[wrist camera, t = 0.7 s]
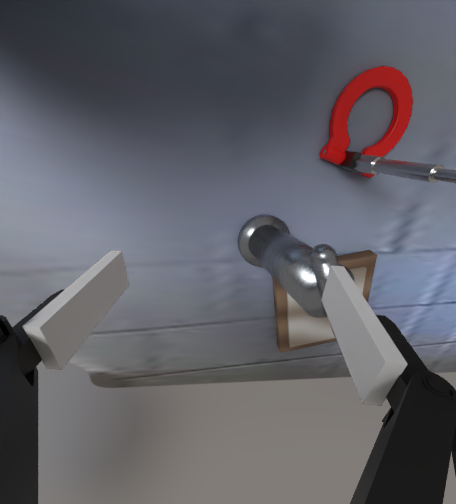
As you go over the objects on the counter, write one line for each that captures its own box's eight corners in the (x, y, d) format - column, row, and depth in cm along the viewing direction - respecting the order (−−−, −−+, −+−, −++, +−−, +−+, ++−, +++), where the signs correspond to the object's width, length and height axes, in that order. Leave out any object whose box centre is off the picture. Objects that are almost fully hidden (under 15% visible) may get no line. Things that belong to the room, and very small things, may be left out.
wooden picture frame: (271, 269, 31) (276, 278, 30) (369, 249, 32) (379, 257, 30) (277, 345, 39) (281, 355, 37) (355, 328, 40) (362, 337, 38)
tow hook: (355, 52, 21) (309, 155, 25) (550, -50, 10) (412, 169, 13) (419, 91, 23) (369, 180, 27) (639, 44, 12) (501, 210, 15)
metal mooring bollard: (225, 221, 26) (281, 275, 13) (274, 197, 27) (373, 226, 14) (252, 278, 30) (316, 365, 17) (294, 256, 30) (388, 324, 17)
